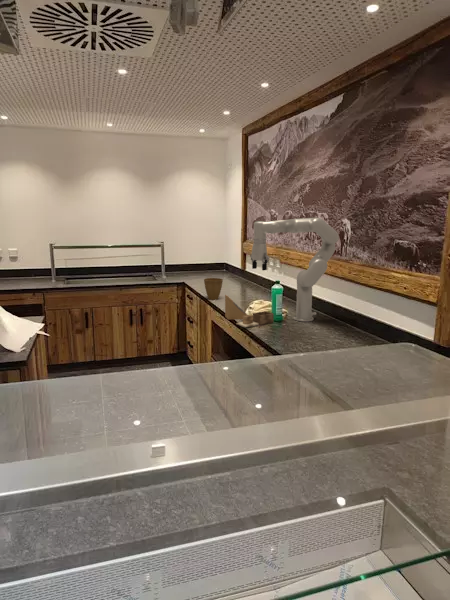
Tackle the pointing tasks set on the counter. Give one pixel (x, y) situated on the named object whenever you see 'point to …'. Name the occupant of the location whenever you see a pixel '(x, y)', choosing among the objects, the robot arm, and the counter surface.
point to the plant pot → (213, 287)
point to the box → (263, 318)
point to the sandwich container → (233, 309)
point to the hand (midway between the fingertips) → (259, 269)
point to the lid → (247, 321)
